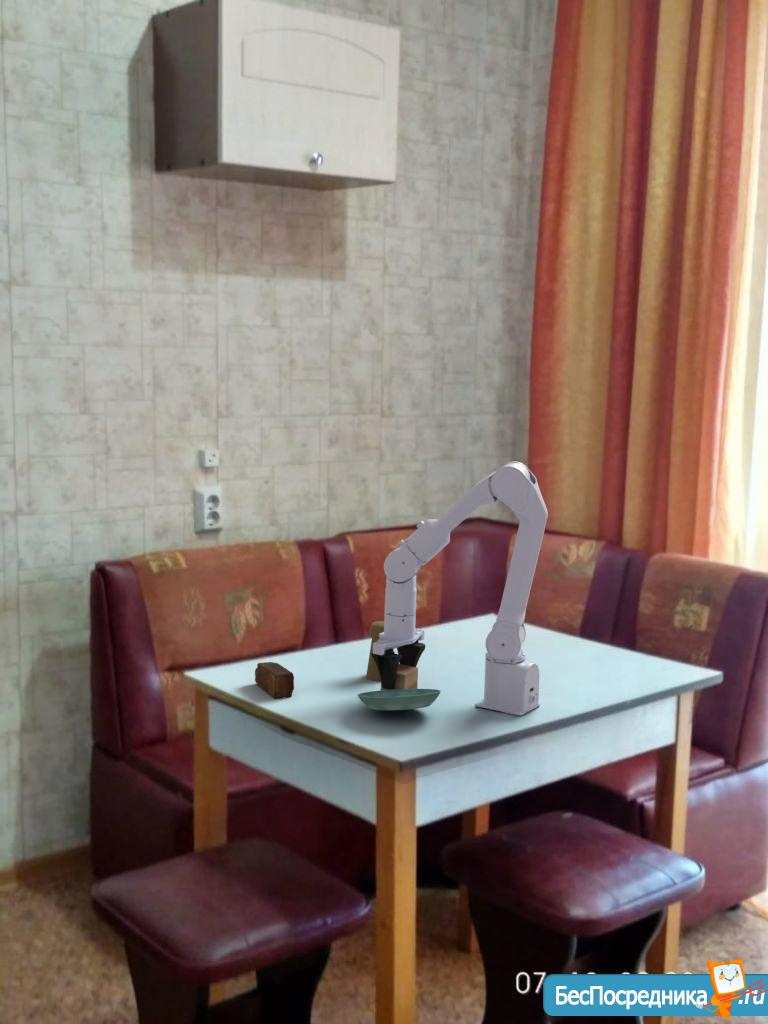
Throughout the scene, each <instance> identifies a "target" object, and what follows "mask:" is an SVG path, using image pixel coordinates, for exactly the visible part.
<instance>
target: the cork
mask: <svg viewBox="0 0 768 1024" xmlns="http://www.w3.org/2000/svg"><path fill="white" fill-rule="evenodd" d="M368 632H369V633H368V634H369V637H370V638H371V643H370V649H369V655H368V662H367V669H366V676H365V677H367V678H366V679H368V680H370V681H374V680H375V682H381V678H380V674H379V670H378V667H377V665H376V663H375V661H374V659H373V657H372V655H371V652H372V650H373V643H375V642H377V641H378V640H379V639H380V637H379V634H380V633H382V632H384V620H378V621H377V620H376V621H374V622H372V623H370V625H369V628H368ZM393 652H395V649H393Z"/></svg>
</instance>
